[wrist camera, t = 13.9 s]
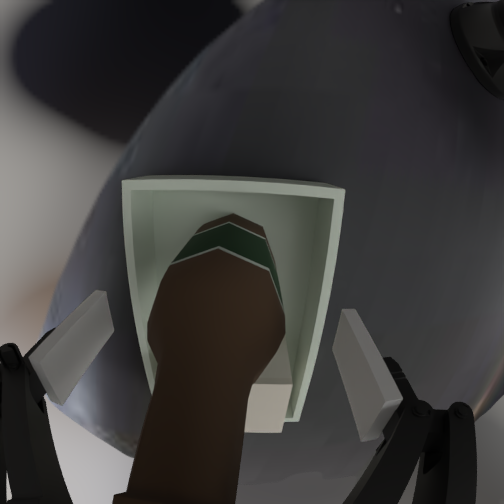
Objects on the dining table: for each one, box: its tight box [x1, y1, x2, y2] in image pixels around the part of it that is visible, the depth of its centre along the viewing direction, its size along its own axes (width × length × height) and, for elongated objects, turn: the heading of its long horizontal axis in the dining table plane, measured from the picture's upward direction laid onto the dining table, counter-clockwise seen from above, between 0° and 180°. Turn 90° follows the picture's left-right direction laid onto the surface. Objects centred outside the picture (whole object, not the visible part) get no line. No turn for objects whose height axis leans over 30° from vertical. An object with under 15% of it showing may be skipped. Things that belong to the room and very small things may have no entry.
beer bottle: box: [112, 213, 286, 504], centre depth 15 cm, size 8×8×24 cm
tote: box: [122, 175, 345, 422], centre depth 26 cm, size 17×26×6 cm, turn 177°
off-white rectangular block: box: [155, 336, 293, 433], centre depth 26 cm, size 12×8×8 cm, turn 87°
